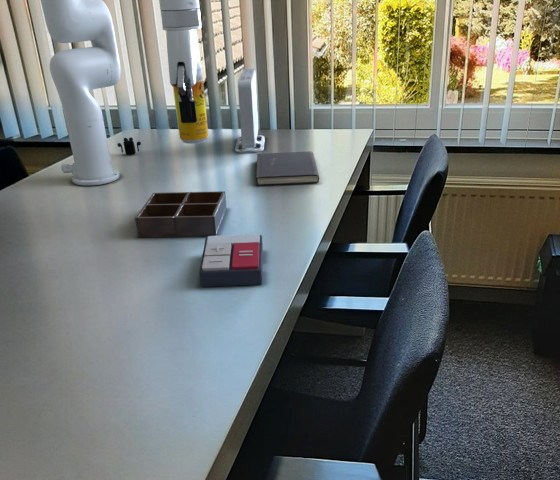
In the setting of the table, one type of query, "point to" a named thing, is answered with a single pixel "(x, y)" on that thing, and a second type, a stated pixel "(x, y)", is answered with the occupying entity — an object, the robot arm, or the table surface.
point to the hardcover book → (286, 168)
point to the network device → (248, 113)
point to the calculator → (232, 260)
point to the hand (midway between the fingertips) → (192, 118)
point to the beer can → (198, 130)
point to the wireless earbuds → (129, 146)
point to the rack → (182, 214)
